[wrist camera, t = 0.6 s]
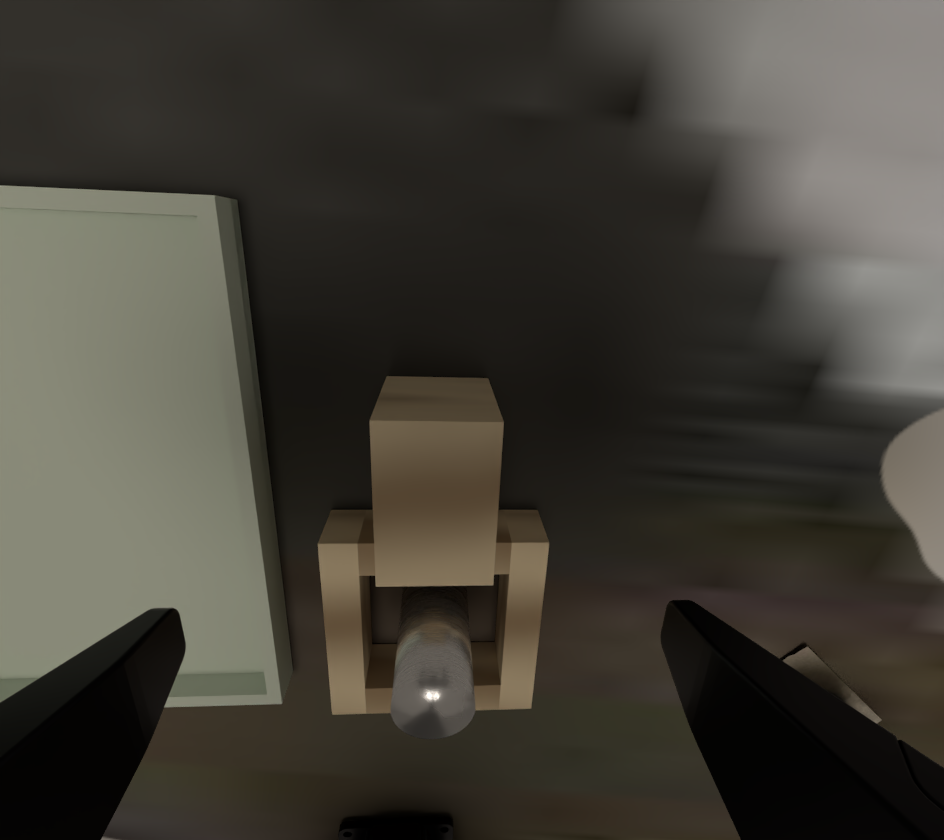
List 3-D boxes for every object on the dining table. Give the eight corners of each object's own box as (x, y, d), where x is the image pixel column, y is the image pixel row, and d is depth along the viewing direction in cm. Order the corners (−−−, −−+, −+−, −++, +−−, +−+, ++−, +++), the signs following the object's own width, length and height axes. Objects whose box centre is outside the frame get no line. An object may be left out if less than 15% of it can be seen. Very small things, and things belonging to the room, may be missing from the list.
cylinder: (465, 618, 23) (473, 737, 18) (402, 619, 23) (391, 740, 18) (467, 566, 22) (477, 676, 17) (402, 567, 22) (389, 678, 16)
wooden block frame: (522, 664, 25) (541, 763, 20) (342, 668, 24) (319, 772, 19) (550, 379, 19) (585, 423, 15) (321, 374, 19) (282, 419, 14)
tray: (293, 671, 24) (281, 703, 22) (-16, 678, 23) (-52, 713, 21) (237, 200, 16) (214, 195, 15) (-222, 179, 15) (-303, 171, 14)
